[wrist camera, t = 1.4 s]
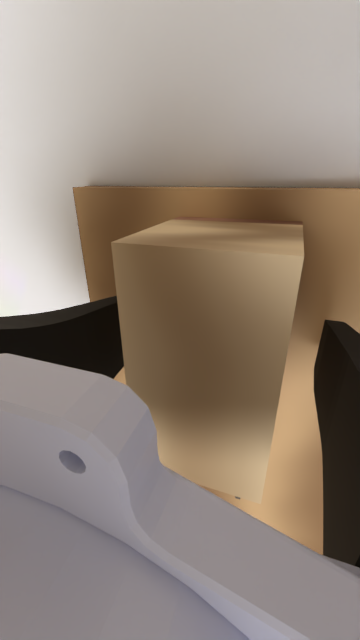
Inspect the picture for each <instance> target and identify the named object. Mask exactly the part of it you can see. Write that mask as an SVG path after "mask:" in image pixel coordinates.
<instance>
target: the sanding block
mask: <svg viewBox="0 0 360 640" xmlns="http://www.w3.org/2000/svg"><path fill="white" fill-rule="evenodd" d="M111 247H112V256H113V266H114V275H115V284H116V294H117V303H118V313H119V322H120V331H121V341H122V350H123V360H124V369H125V378H126V385H127V386H129V387H130V388H131V389H132V390H133V391H134V392H135V393H136V394H137V395H138V396H139V397H140V398H141V399H142V400H143V401H144V403H145V404H146V405H147V406H148V408H149V410H150V413H151V416H152V419H153V421H154V424H155V427H156V430H157V447H158V455H159V460H160V462H161V463H162V464H163V465H164V466H165V467H167V468H169V469H171V470H172V471H174V472H176V473H178V474H179V475H181V476H183V477H185V478H186V479H188V480H190V481H192V482H194V483H196V484H199V485H202V486H205V487H208V488H211V489H214V490H218V491H221V492H224V493H227V494H230V495H233V496H236V497H240V498H243V499H246V500H249V501H252V502H255V503H258V504H261V501H262V495H263V489H264V484H265V478H266V472H267V466H268V461H269V455H270V449H271V444H272V438H273V432H274V426H275V421H276V415H277V409H278V404H279V398H280V392H281V386H282V381H283V375H284V369H285V364H286V358H287V352H288V346H289V341H290V335H291V329H292V324H293V318H294V312H295V306H296V301H297V295H298V289H299V284H300V278H301V272H302V266H303V261H304V241H303V221H278V220H253V219H227V218H202V217H177V218H174V219H171V220H169V221H166V222H163V223H161V224H158V225H155V226H153V227H150V228H148V229H145V230H142V231H140V232H137V233H134V234H132V235H129V236H126V237H124V238H121V239H118V240H116V241H113V242H111Z"/></svg>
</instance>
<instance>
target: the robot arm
mask: <svg viewBox="0 0 360 640" xmlns="http://www.w3.org/2000/svg"><path fill="white" fill-rule="evenodd" d="M123 367H124V360H123V350H122V341H121V331H120V322H119V313H118V303H117V296H113V297H109V298H105V299H101V300H97V301H93V302H90V303H86V304H82V305H78V306H73V307H69V308H65V309H61V310H56V311H50V312H44V313H38V314H30V315H19V316H9V317H0V640H360V334H359V333H358V332H357V331H356V330H354V329H353V328H352V327H351V326H349V325H348V324H347V323H345V322H341V321H333V320H325V321H324V325H323V330H322V334H321V339H320V343H319V347H318V352H317V356H316V361H315V365H314V397H315V404H316V411H317V418H318V424H319V431H320V438H321V446H322V464H323V555H321V554H318V553H317V552H315V551H313V550H311V549H309V548H308V547H306V546H304V545H302V544H301V543H299V542H297V541H295V540H294V539H292V538H290V537H288V536H287V535H285V534H283V533H281V532H280V531H278V530H276V529H274V528H273V527H271V526H269V525H267V524H266V523H264V522H262V521H260V520H259V519H257V518H255V517H253V516H252V515H250V514H248V513H246V512H244V511H243V510H241V509H239V508H237V507H236V506H234V505H232V504H230V503H229V502H227V501H225V500H223V499H222V498H220V497H218V496H216V495H215V494H213V493H211V492H209V491H208V490H206V489H204V488H202V487H201V486H199V485H197V484H195V483H194V482H192V481H190V480H188V479H186V478H185V477H183V476H181V475H179V474H178V473H176V472H174V471H172V470H171V469H169V468H167V467H165V466H164V465H163V464H162V463H161V462H160V460H159V455H158V447H157V430H156V427H155V424H154V421H153V419H152V416H151V413H150V410H149V408H148V406H147V405H146V404H145V403H144V401H143V400H142V399H141V398H140V397H139V396H138V395H137V394H136V393H135V392H134V391H133V390H132V389H131V388H130V387H129V386H127V385H125V384H123V383H121V382H118V381H116V380H114V378H115V376H116V375H117V374H118V373H119V372H120V371H121V369H122V368H123Z"/></svg>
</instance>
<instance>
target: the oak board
mask: <svg viewBox="0 0 360 640" xmlns="http://www.w3.org/2000/svg"><path fill="white" fill-rule="evenodd" d="M73 193H74V200H75V206H76V213H77V219H78V226H79V232H80V239H81V246H82V252H83V259H84V265H85V272H86V278H87V285H88V291H89V298H90V302H93V301H97V300H101V299H105V298H109V297H113V296H117V294H116V284H115V275H114V266H113V256H112V247H111V242H113V241H116V240H118V239H121V238H124V237H126V236H129V235H132V234H134V233H137V232H140V231H142V230H145V229H148V228H150V227H153V226H155V225H158V224H161V223H163V222H166V221H169V220H171V219H174V218H177V217H202V218H227V219H253V220H278V221H303V241H304V261H303V266H302V272H301V278H300V284H299V289H298V295H297V301H296V306H295V312H294V318H293V324H292V329H291V335H290V341H289V346H288V352H287V358H286V364H285V369H284V375H283V381H282V386H281V392H280V398H279V404H278V409H277V415H276V421H275V426H274V432H273V438H272V444H271V449H270V455H269V461H268V466H267V472H266V478H265V484H264V489H263V495H262V501H261V504H258V503H255V502H252V501H249V500H246V499H243V498H240V497H236V496H233V495H230V494H227V493H224V492H221V491H218V490H214V489H211V488H208V487H205V486H202V485H199V484H197V485H199V486H201V487H202V488H204V489H206V490H208V491H209V492H211V493H213V494H215V495H216V496H218V497H220V498H222V499H223V500H225V501H227V502H229V503H230V504H232V505H234V506H236V507H237V508H239V509H241V510H243V511H244V512H246V513H248V514H250V515H252V516H253V517H255V518H257V519H259V520H260V521H262V522H264V523H266V524H267V525H269V526H271V527H273V528H274V529H276V530H278V531H280V532H281V533H283V534H285V535H287V536H288V537H290V538H292V539H294V540H295V541H297V542H299V543H301V544H302V545H304V546H306V547H308V548H309V549H311V550H313V551H315V552H317V553H318V554H321V555H323V464H322V446H321V438H320V431H319V424H318V418H317V411H316V404H315V397H314V365H315V361H316V356H317V352H318V347H319V343H320V339H321V334H322V330H323V325H324V321H325V320H333V321H341V322H345V323H347V324H348V325H349V326H351V327H352V328H353V329H354V330H356V331H357V332H358V333H359V334H360V188H263V187H136V186H85V187H73ZM114 380H116V381H118V382H121V383H123V384H125V385H126V378H125V369H124V367H123V368H122V369H121V371H120V372H119V373H118V374H117V375H116V376H115V378H114ZM195 484H196V483H195Z"/></svg>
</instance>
